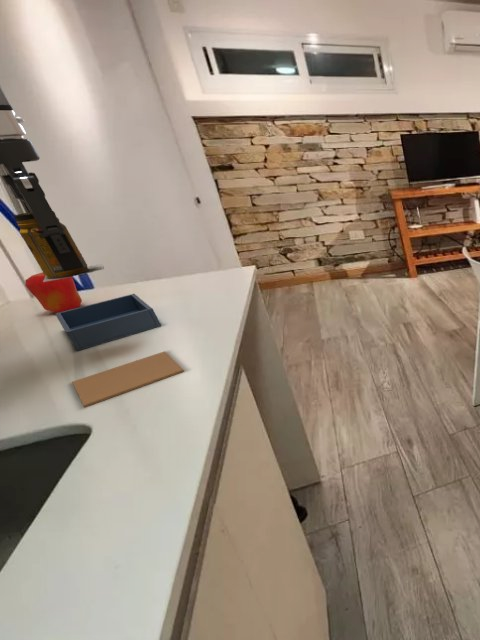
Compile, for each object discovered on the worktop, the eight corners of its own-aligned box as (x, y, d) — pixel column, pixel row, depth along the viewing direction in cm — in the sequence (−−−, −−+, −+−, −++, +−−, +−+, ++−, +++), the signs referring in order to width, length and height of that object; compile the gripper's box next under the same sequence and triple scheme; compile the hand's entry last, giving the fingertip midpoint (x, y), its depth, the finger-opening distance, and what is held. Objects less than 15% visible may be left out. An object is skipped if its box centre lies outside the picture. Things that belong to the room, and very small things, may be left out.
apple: (71, 304, 132) (46, 263, 127) (97, 303, 131) (73, 262, 126) (35, 316, 124) (7, 273, 119) (63, 316, 123) (36, 272, 118)
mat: (84, 407, 81) (83, 405, 80) (73, 383, 89) (71, 381, 88) (184, 371, 90) (183, 369, 90) (165, 352, 98) (164, 351, 98)
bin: (77, 350, 102) (65, 332, 100) (65, 330, 114) (54, 313, 112) (161, 325, 112) (152, 308, 110) (143, 309, 124) (134, 293, 122)
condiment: (45, 275, 93) (8, 214, 87) (104, 264, 98) (72, 205, 93) (43, 283, 88) (3, 218, 83) (104, 271, 93) (71, 209, 88)
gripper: (35, 136, 80) (106, 268, 90) (22, 137, 90) (87, 255, 100) (-33, 140, 74) (51, 280, 84) (-38, 141, 85) (37, 265, 95)
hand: (70, 266), depth 92 cm, fingers closed on condiment, 6 cm apart
